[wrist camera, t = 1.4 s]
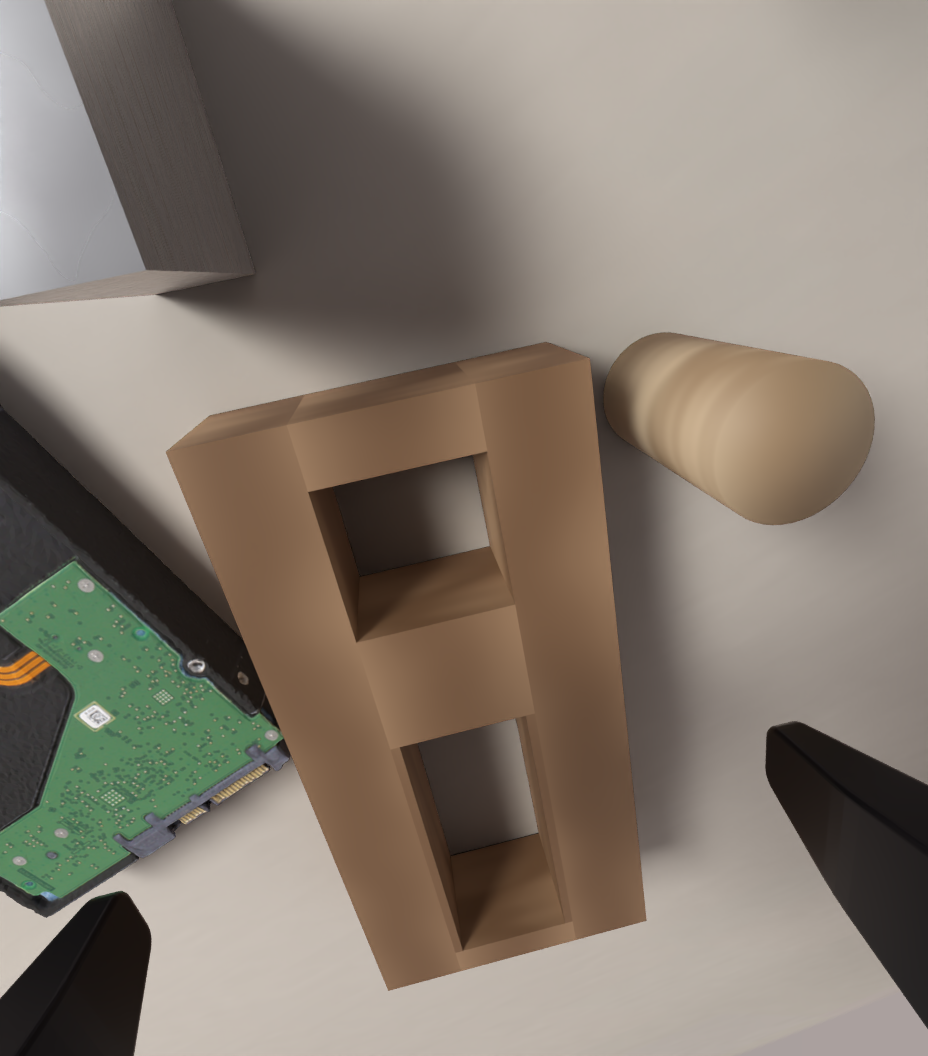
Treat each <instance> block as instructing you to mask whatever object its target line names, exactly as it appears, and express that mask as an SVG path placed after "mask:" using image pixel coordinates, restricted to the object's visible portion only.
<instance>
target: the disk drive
mask: <svg viewBox="0 0 928 1056" xmlns="http://www.w3.org/2000/svg"><path fill="white" fill-rule="evenodd" d="M289 759H290V751H289V749H288V747H287V744H286V742H285V739H284V737H283V734H282V732H281V730H280V727H279V725H278V722H277V720H276V718H275V715H274V713H273V710H272V708H271V705H270V703H269V701H268V698H267V696H266V693H265V691H264V689H263V686H262V684H261V681H260V679H259V676H258V674H257V672H256V669H255V667H254V664H253V662H252V659H251V657H250V655H249V652H248V650H247V647H246V645H245V643H244V640H243V639H241V638H240V637H239V636H238V635H237V633H236V632H235V631H233V630H232V629H231V628H230V627H229V626H228V625H227V624H226V623H225V622H224V621H223V620H222V619H221V618H220V617H219V616H217V615H216V614H215V613H214V612H213V611H212V610H211V609H210V608H209V607H208V606H207V605H206V604H205V603H204V602H203V601H202V600H201V599H200V598H199V597H198V596H197V595H196V594H194V593H193V591H191V590H190V589H189V588H188V587H187V586H186V585H185V584H184V583H183V582H182V581H181V580H180V579H179V578H178V577H177V576H176V575H175V574H174V573H173V572H172V571H171V570H170V569H169V568H168V567H166V566H165V565H164V564H163V563H162V562H161V560H160V559H158V558H157V557H156V556H155V555H154V553H153V552H151V551H150V550H149V549H148V548H147V547H146V546H145V545H144V544H143V543H142V542H141V541H140V540H139V539H137V538H136V537H135V536H134V535H133V534H132V533H131V532H130V531H129V530H128V529H127V527H126V526H124V525H123V524H122V523H121V522H120V521H119V520H118V519H117V518H116V517H115V516H114V515H113V514H112V513H111V512H110V511H109V510H108V509H107V508H106V507H104V506H103V505H102V504H101V503H100V502H99V501H98V500H97V499H96V498H95V497H94V496H93V495H92V494H91V493H89V492H88V491H87V490H86V489H85V488H84V487H83V486H82V485H81V484H80V483H79V482H78V481H77V480H76V479H75V478H74V477H73V476H72V475H71V474H70V473H69V472H68V471H67V470H66V469H65V468H64V467H63V466H62V465H61V464H59V463H58V462H57V461H56V460H55V459H54V458H53V457H52V456H51V455H50V454H49V453H48V452H47V451H46V450H45V449H44V448H43V447H42V446H41V445H40V444H39V443H38V442H37V441H36V440H35V439H34V438H33V437H32V436H31V435H30V434H29V433H28V432H27V431H26V430H25V429H23V428H22V427H21V426H20V425H19V424H18V423H17V422H16V421H15V420H14V419H13V418H12V417H11V416H10V415H9V414H8V413H7V412H6V411H4V409H3V408H2V406H1V404H0V891H2V892H5V893H6V895H7V896H9V897H10V898H12V899H13V900H15V901H16V902H17V903H19V904H21V905H22V906H24V907H27V908H28V909H32V910H34V911H35V913H38V914H40V915H42V916H43V917H46V918H47V917H48V916H51V915H53V914H55V913H56V912H58V911H60V910H61V909H62V908H64V907H65V906H67V905H69V904H70V903H72V902H73V901H75V900H77V899H78V898H80V897H81V896H83V895H84V894H85V893H87V892H89V891H91V890H92V889H93V888H95V887H97V886H99V885H100V884H101V883H103V882H105V881H106V880H108V879H109V878H111V877H113V876H114V875H116V874H117V873H118V872H120V871H122V870H123V869H125V868H126V867H128V866H129V865H131V864H133V863H134V862H136V861H137V860H138V859H139V857H141V858H144V857H146V856H148V855H149V854H151V853H153V852H155V851H156V850H157V849H159V848H160V847H161V846H163V845H165V844H166V843H168V842H169V841H171V840H172V839H174V838H175V837H176V834H175V832H174V831H175V830H176V829H177V828H178V827H179V826H180V824H181V823H184V824H188V823H190V822H192V821H193V820H195V819H196V818H198V817H199V816H200V815H202V814H203V813H205V812H209V811H210V803H212V802H213V804H215V805H219V804H221V803H222V802H223V801H224V800H225V799H227V798H228V797H230V796H231V795H233V794H234V793H236V792H237V791H239V790H241V789H242V788H243V787H245V786H246V785H248V784H249V783H251V782H253V781H254V780H256V779H257V778H259V777H261V776H262V775H264V774H265V773H267V772H268V771H269V770H270V766H268V765H271V766H272V767H273V768H274V769H275V771H278V770H280V769H281V768H282V766H283V764H284V763H285V762H287V761H288V760H289Z"/></svg>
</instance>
